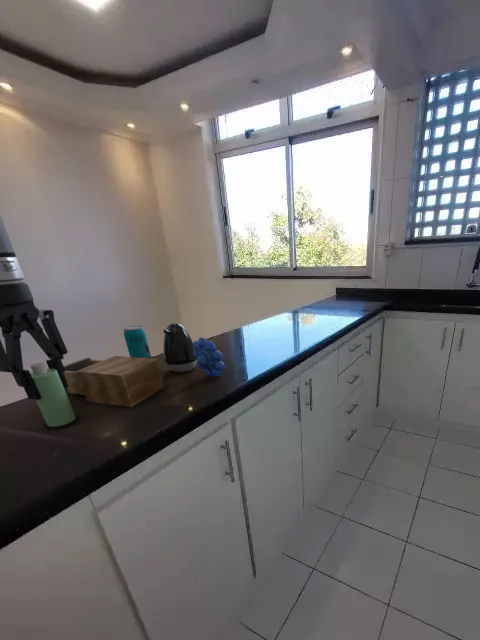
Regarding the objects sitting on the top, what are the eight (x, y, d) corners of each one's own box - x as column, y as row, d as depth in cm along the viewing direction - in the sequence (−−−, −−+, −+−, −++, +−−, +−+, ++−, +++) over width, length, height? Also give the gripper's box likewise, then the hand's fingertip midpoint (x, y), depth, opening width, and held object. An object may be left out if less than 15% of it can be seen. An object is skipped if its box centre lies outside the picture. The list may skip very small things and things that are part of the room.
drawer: (47, 392, 86) (37, 369, 83) (84, 377, 96) (76, 356, 93) (97, 398, 81) (88, 374, 78) (130, 382, 91) (123, 360, 88)
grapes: (187, 378, 95) (179, 339, 89) (203, 370, 100) (196, 334, 95) (215, 384, 89) (208, 343, 84) (231, 376, 95) (225, 337, 89)
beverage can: (156, 375, 98) (144, 327, 91) (136, 379, 95) (122, 330, 89) (154, 369, 102) (142, 324, 96) (135, 373, 100) (121, 327, 93)
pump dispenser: (160, 374, 98) (148, 326, 91) (179, 363, 107) (169, 319, 100) (188, 376, 96) (178, 327, 89) (205, 365, 105) (197, 319, 98)
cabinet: (87, 401, 82) (75, 371, 78) (123, 383, 93) (115, 355, 89) (131, 407, 78) (121, 375, 74) (164, 387, 89) (157, 358, 85)
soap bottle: (41, 425, 71) (14, 368, 65) (64, 413, 76) (40, 359, 70) (59, 428, 69) (33, 369, 63) (81, 416, 74) (59, 360, 68)
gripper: (-46, 288, 50) (16, 413, 60) (62, 278, 66) (97, 378, 76) (-75, 289, 52) (-10, 410, 62) (36, 278, 68) (74, 376, 78)
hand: (49, 392), depth 69 cm, fingers closed on soap bottle, 6 cm apart
